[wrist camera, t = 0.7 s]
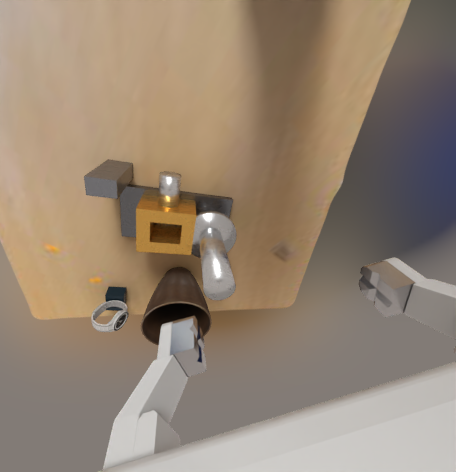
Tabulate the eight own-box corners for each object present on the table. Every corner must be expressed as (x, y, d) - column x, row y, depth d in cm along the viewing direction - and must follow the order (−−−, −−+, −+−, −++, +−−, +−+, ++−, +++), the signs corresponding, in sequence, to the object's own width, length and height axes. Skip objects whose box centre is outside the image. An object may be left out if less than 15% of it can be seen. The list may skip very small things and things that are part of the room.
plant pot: (206, 254, 58) (212, 299, 45) (205, 294, 66) (210, 343, 52) (147, 257, 56) (135, 305, 42) (154, 298, 63) (145, 351, 50)
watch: (133, 302, 63) (124, 336, 54) (102, 301, 61) (87, 336, 51) (134, 287, 60) (124, 321, 51) (101, 286, 58) (85, 320, 49)
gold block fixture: (120, 160, 43) (62, 208, 23) (238, 178, 49) (274, 229, 29) (123, 232, 51) (82, 316, 31) (224, 241, 57) (245, 315, 37)
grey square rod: (108, 159, 43) (84, 176, 33) (132, 163, 44) (116, 180, 34) (109, 174, 44) (86, 195, 34) (132, 177, 46) (117, 198, 35)
